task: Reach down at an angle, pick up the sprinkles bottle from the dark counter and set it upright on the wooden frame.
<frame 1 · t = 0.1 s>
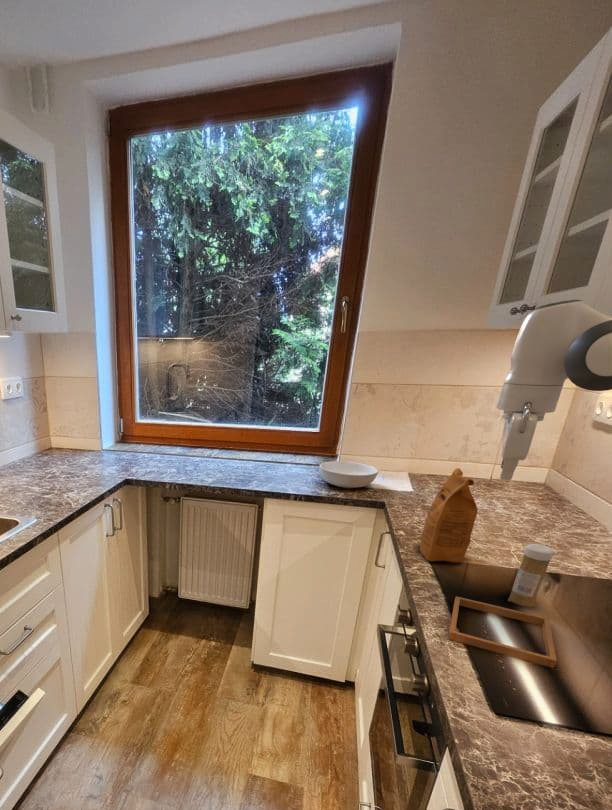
hand: (505, 473, 92), 27 cm above the countertop, tool pointing down, fingers open, 8 cm apart
serving bowl: (345, 485, 181), on the countertop
wooden frame: (496, 636, 89), on the countertop
coffee package: (439, 555, 123), on the countertop
sprinkles bottle: (519, 606, 100), on the countertop
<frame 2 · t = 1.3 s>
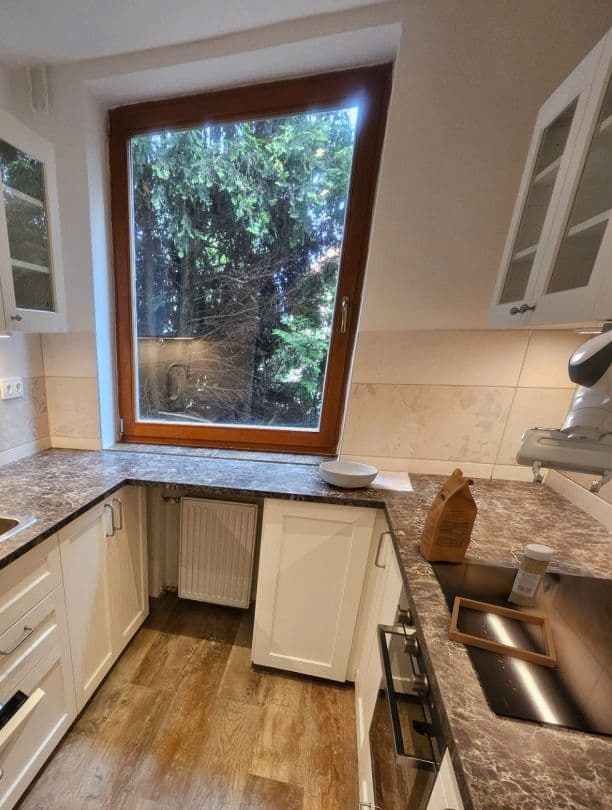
hand: (564, 486, 98), 23 cm above the countertop, tool tilted 45°, fingers open, 8 cm apart
nothing on the countertop moved.
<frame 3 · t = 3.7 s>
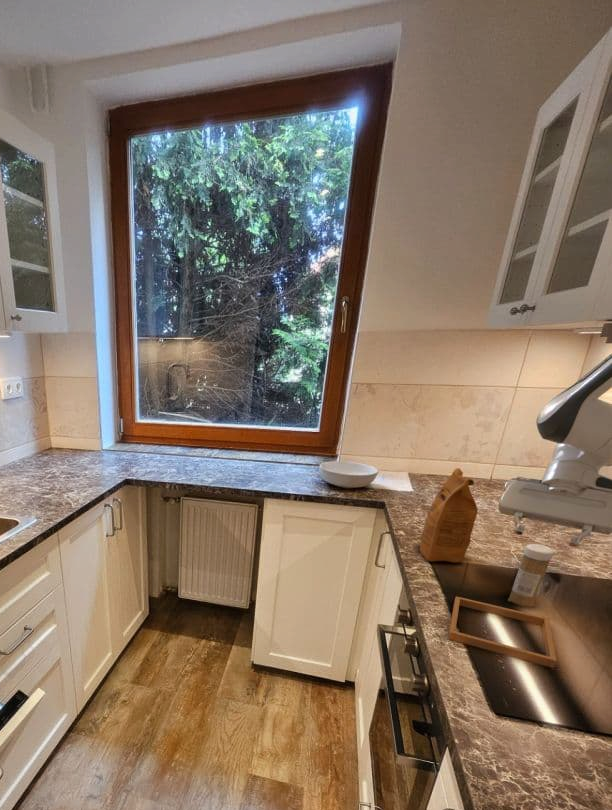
hand: (544, 539, 99), 13 cm above the countertop, tool tilted 45°, fingers open, 8 cm apart
nothing on the countertop moved.
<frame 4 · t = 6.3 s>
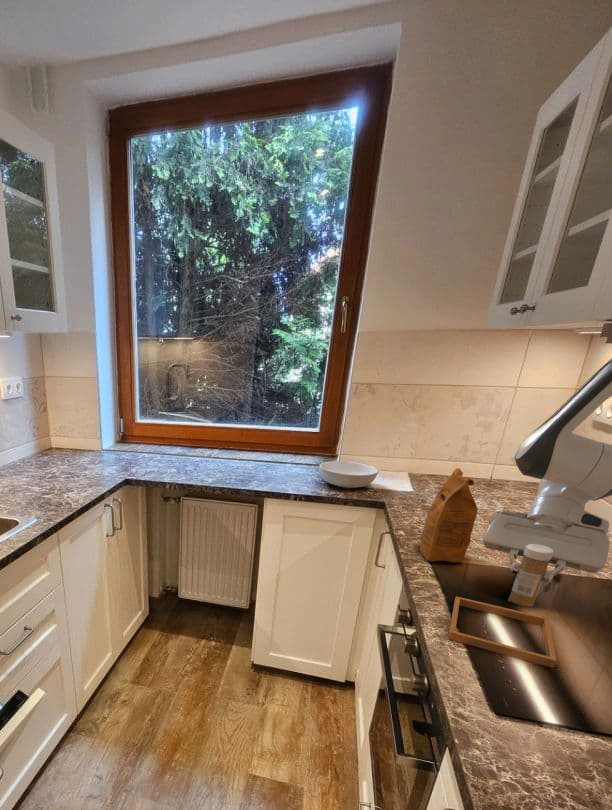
hand: (530, 576, 96), 7 cm above the countertop, tool tilted 45°, fingers closed on sprinkles bottle, 4 cm apart
sprinkles bottle: (519, 606, 100), on the countertop, touching gripper
everything else where it was.
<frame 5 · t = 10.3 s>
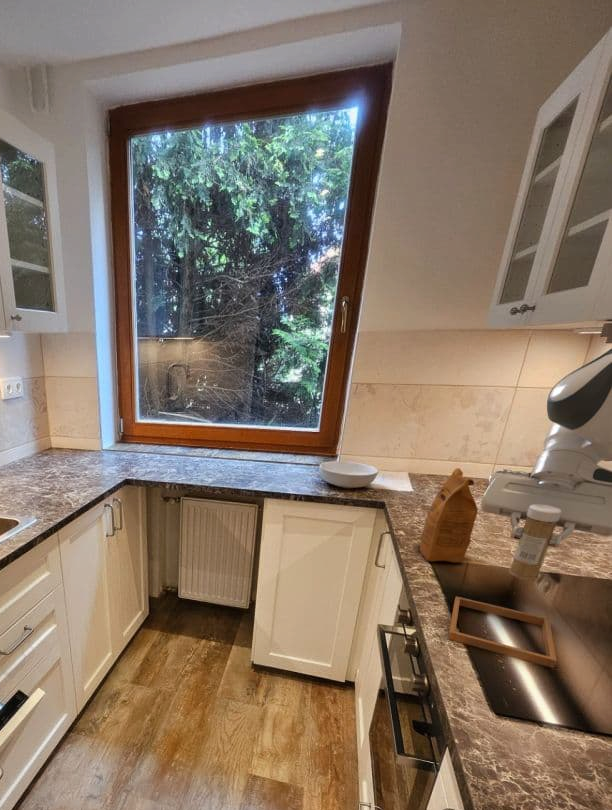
hand: (534, 541, 85), 18 cm above the countertop, tool tilted 45°, fingers closed on sprinkles bottle, 4 cm apart
sprinkles bottle: (521, 576, 88), point 11 cm above the countertop, touching gripper
everything else where it was.
when the fingers open (8 cm above the countertop, at t = 14.4 s): sprinkles bottle stays where it is, resting on wooden frame.
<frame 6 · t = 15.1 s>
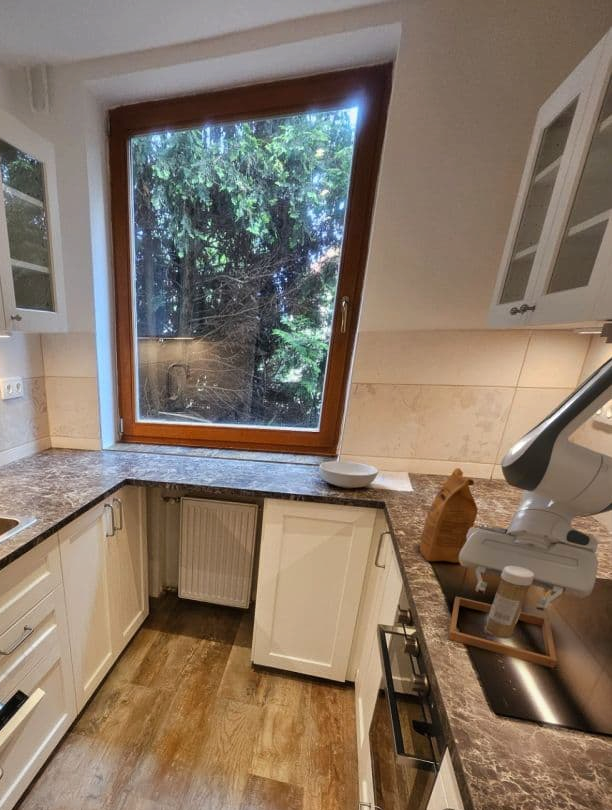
hand: (509, 600, 86), 8 cm above the countertop, tool tilted 45°, fingers open, 8 cm apart
sprinkles bottle: (496, 634, 89), resting on wooden frame
everything else where it was.
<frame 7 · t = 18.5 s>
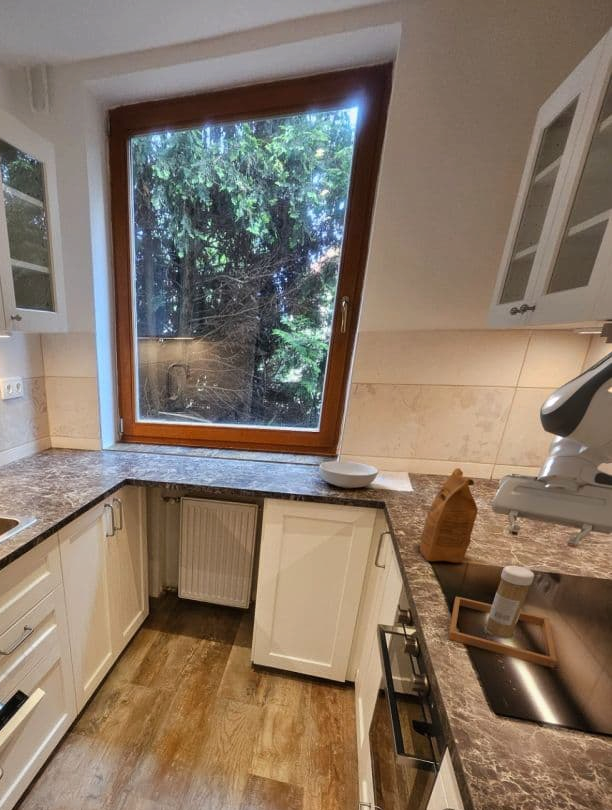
hand: (541, 539, 93), 15 cm above the countertop, tool tilted 45°, fingers open, 8 cm apart
nothing on the countertop moved.
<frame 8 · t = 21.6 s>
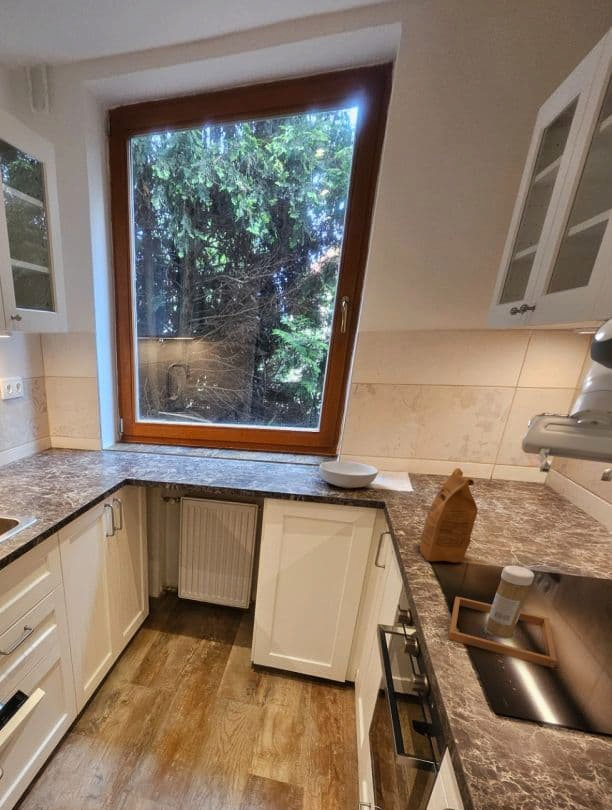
hand: (574, 475, 91), 27 cm above the countertop, tool tilted 45°, fingers open, 8 cm apart
nothing on the countertop moved.
at the end: sprinkles bottle inside the target area in the wooden frame (0.1 cm from its centre), point 0.4 cm above the wooden frame's base; sprinkles bottle tilted 0°; the gripper is holding nothing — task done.
